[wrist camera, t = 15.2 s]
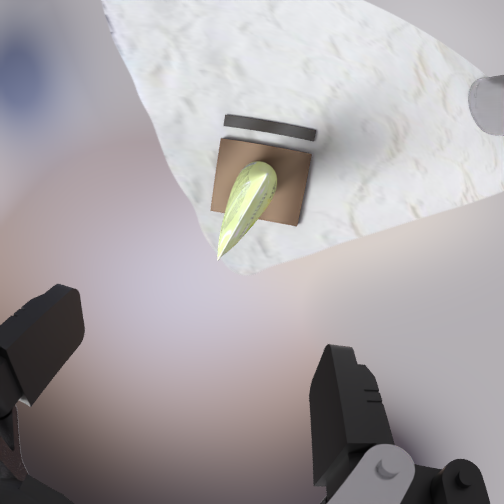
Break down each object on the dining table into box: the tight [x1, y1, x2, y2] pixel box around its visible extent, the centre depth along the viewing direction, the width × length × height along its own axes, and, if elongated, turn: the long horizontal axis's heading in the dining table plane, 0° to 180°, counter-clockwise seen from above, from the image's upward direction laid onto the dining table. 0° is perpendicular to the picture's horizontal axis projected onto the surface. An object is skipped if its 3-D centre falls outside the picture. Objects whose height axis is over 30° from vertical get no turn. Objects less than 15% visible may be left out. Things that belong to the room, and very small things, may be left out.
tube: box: [217, 161, 277, 260], centre depth 31 cm, size 6×5×20 cm
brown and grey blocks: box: [211, 115, 316, 226], centre depth 40 cm, size 12×13×1 cm
